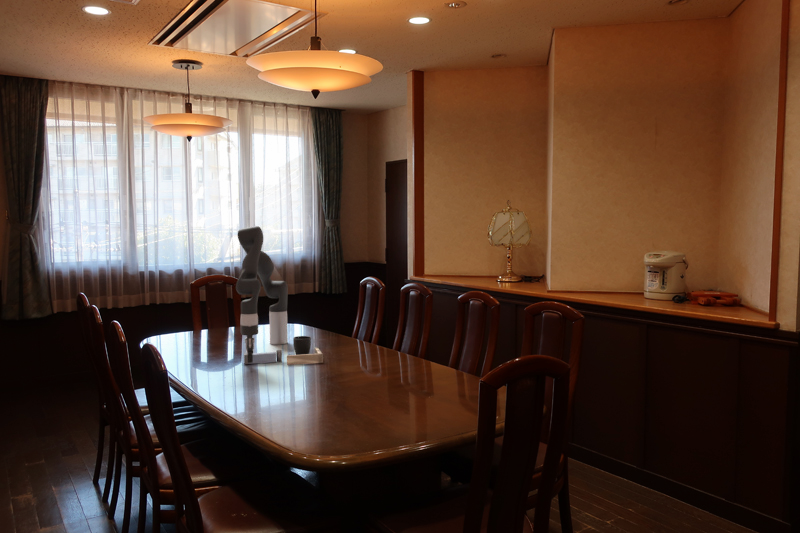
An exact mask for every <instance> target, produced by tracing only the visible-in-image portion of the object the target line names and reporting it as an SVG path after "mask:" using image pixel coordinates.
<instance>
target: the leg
mask: <svg viewBox="0 0 800 533" xmlns="http://www.w3.org/2000/svg"><path fill="white" fill-rule="evenodd" d="M243 359H244V361H243V362H244V365H248V364H250V365H251V364H265V363H266V364H267V363H277V358H276V351H269V352H253V362H252V363H248V358H247V352H244V354H243Z"/></svg>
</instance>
